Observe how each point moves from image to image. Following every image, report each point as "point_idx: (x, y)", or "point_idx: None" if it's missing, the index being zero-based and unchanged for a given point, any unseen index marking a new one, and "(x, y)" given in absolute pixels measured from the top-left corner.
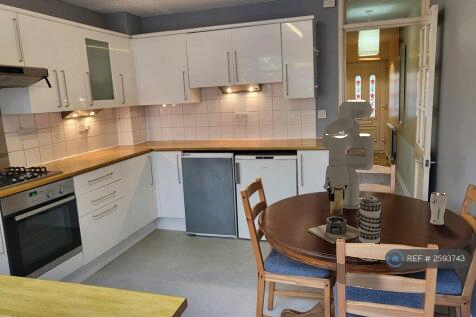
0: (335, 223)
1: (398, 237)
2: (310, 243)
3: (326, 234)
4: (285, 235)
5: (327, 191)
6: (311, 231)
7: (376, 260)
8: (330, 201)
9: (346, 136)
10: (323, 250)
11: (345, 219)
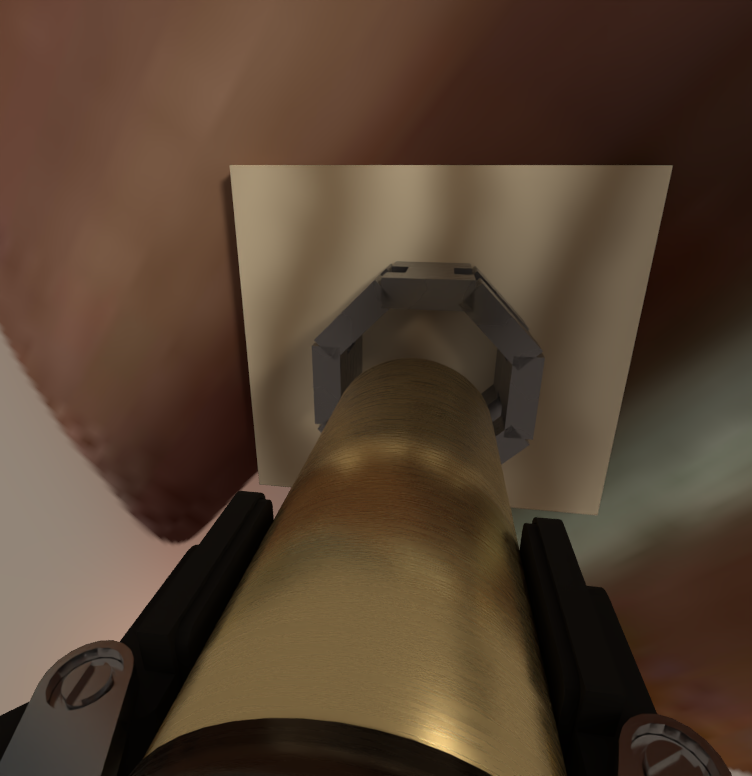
0: None
1: (724, 653)
2: (134, 384)
3: (301, 366)
4: (13, 139)
5: (8, 722)
6: (238, 224)
7: None
8: (300, 473)
9: None
10: (159, 502)
11: (511, 441)
